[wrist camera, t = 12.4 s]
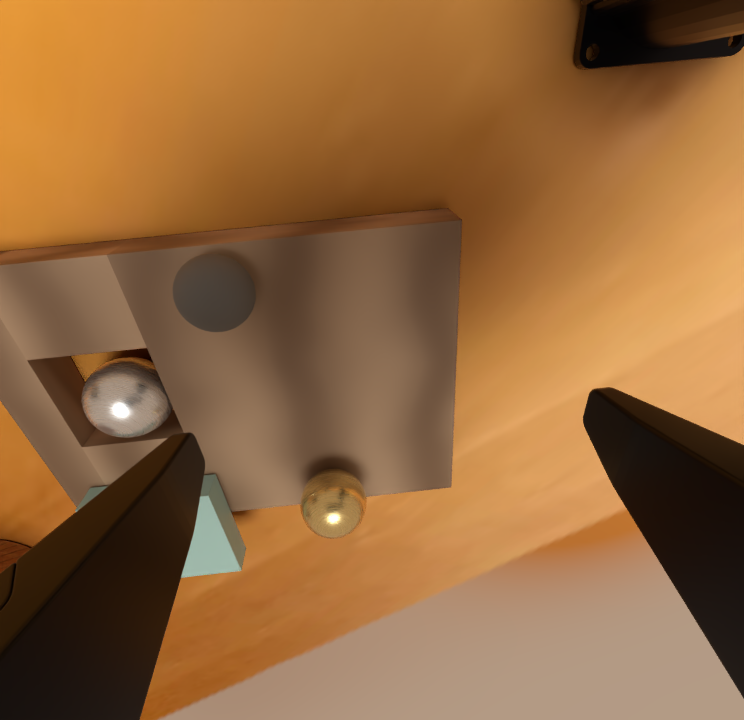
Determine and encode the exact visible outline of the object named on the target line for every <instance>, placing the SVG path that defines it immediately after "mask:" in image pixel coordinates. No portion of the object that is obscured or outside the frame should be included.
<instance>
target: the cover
mask: <svg viewBox="0 0 744 720" xmlns="http://www.w3.org/2000/svg"><path fill="white" fill-rule="evenodd" d="M107 487H108V486H104V487H94V488H90V489H89V490H88V492H87V494H86V495H85V497H84V498H83V500H82V501H81V503H80V504H79V506H78V507H77V509H76V510H75V511H76V512H77V511H78V510H79V509H80V508H82V507H83V506H84V505H85V504H87V503H88V502H89V501H90V500H92V499H93V498H94V497H95V496H97V495H98V494H99V493H100V492H102V491H103V490H104V489H105V488H107ZM245 551H246V547H245V545H244V542H243V540H242V537H241V535H240V533H239V530H238V528H237V525H236V523H235V520H234V518H233V515H232V513H231V511H230V508H229V506H228V503H227V501H226V498H225V496H224V493H223V491H222V488H221V486H220V484H219V481H218V479H217V476H216V474H213V475H204V478H203V484H202V490H201V496H200V501H199V507H198V513H197V519H196V524H195V529H194V534H193V537H192V541H191V545H190V548H189V552H188V555H187V559H186V562H185V565H184V569H183V572H182V576H181V578H182V577H191V576H199V575H208V574H217V573H225V572H234V571H241V570H242V565H243V560H244V556H245Z"/></svg>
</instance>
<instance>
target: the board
mask: <svg viewBox="0 0 744 720" xmlns="http://www.w3.org/2000/svg"><path fill="white" fill-rule="evenodd" d="M461 228H462V220H461V219H460V218H459V217H458V216H457V215H455V214H454V213H453V212H452V211H451V210H450V209H449V208H444V209H433V210H423V211H413V212H403V213H392V214H382V215H372V216H361V217H351V218H341V219H331V220H320V221H310V222H300V223H289V224H279V225H269V226H259V227H248V228H238V229H228V230H217V231H207V232H197V233H187V234H176V235H166V236H156V237H145V238H135V239H125V240H115V241H104V242H94V243H84V244H74V245H63V246H53V247H43V248H32V249H22V250H12V251H2V252H0V401H1V402H2V404H3V405H4V406H5V408H6V409H7V411H8V412H9V413H10V415H11V416H12V418H13V419H14V420H15V422H16V423H17V425H18V426H19V427H20V429H21V430H22V431H23V433H24V434H25V436H26V437H27V438H28V440H29V441H30V443H31V444H32V445H33V447H34V448H35V450H36V451H37V452H38V454H39V455H40V457H41V458H42V459H43V461H44V462H45V464H46V465H47V466H48V468H49V469H50V471H51V472H52V473H53V475H54V476H55V478H56V479H57V480H58V482H59V483H60V485H61V486H62V487H63V489H64V490H65V491H66V493H67V494H68V496H69V497H70V498H71V500H72V501H73V503H74V504H75V505H76V507H78V506H79V504H80V503H81V501H82V500H83V498H84V497H85V495H86V494H87V492H88V490H89V489H90V488H94V487H104V486H109V485H110V484H111V483H113V482H114V481H115V480H116V479H118V478H119V477H120V476H121V475H123V474H124V473H125V472H126V471H128V470H129V469H130V468H131V467H133V466H134V465H135V464H136V463H137V462H139V461H140V460H141V459H142V458H144V457H145V456H146V455H147V454H149V453H150V452H151V451H152V450H154V449H155V448H156V447H157V446H159V445H160V444H161V443H162V442H163V441H165V440H166V439H167V438H168V437H170V436H171V435H173V434H177V433H186V432H190V433H193V434H194V435H195V437H196V439H197V442H198V444H199V446H200V449H201V451H202V454H203V456H204V459H205V472H204V475H213V474H216V476H217V479H218V481H219V484H220V486H221V488H222V491H223V493H224V496H225V498H226V501H227V503H228V506H229V508H230V511H231V512H235V511H244V510H252V509H261V508H270V507H279V506H288V505H297V504H301V496H302V493H303V490H304V488H305V486H306V484H307V483H308V482H309V480H310V479H311V478H312V477H314V476H315V475H316V474H318V473H320V472H322V471H324V470H328V469H341V470H345V471H347V472H349V473H351V474H352V475H354V476H355V477H356V478H357V479H358V480H359V481H360V483H361V484H362V486H363V488H364V491H365V494H366V497H369V496H378V495H387V494H396V493H405V492H414V491H422V490H431V489H440V488H449V487H451V481H452V455H453V430H454V405H455V380H456V354H457V329H458V304H459V279H460V253H461ZM203 254H220V255H225V256H227V257H230V258H232V259H234V260H236V261H237V262H239V263H240V264H241V265H242V266H243V267H244V268H245V269H246V270H247V271H248V273H249V274H250V276H251V278H252V280H253V282H254V285H255V290H256V300H255V305H254V308H253V310H252V312H251V314H250V315H249V317H248V318H247V319H246V321H244V322H243V323H242V324H241V325H239V326H238V327H236V328H234V329H231V330H228V331H224V332H209V331H205V330H202V329H199V328H197V327H195V326H193V325H192V324H190V323H189V322H188V321H186V320H185V319H184V318H183V317H182V315H181V314H180V313H179V311H178V309H177V307H176V305H175V302H174V299H173V282H174V279H175V276H176V274H177V272H178V271H179V270H180V268H181V267H182V266H183V265H184V264H185V263H186V262H187V261H189V260H190V259H192V258H194V257H196V256H200V255H203ZM140 348H147V349H148V351H149V354H150V356H151V358H152V361H153V363H154V365H155V368H156V370H157V372H158V374H159V377H160V379H161V381H162V384H163V386H164V388H165V391H166V393H167V395H168V397H169V400H170V402H171V404H172V407H173V409H174V410H173V411H171V413H170V415H169V417H168V418H167V419H166V420H165V421H164V422H163V423H162V424H161V425H160V426H159V427H158V428H156V429H155V430H153V431H151V432H149V433H147V434H144V435H141V436H137V437H130V438H124V437H115V436H112V435H108V434H106V433H104V432H102V431H100V430H99V429H97V428H96V427H95V426H93V425H92V423H91V422H90V421H89V420H88V418H87V417H86V415H85V413H84V411H83V407H82V391H83V388H84V385H85V382H84V380H83V379H82V377H81V375H80V373H79V371H78V370H77V368H76V366H75V364H74V362H73V361H72V359H71V357H70V356H72V355H82V354H92V353H102V352H111V351H121V350H131V349H140Z"/></svg>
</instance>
